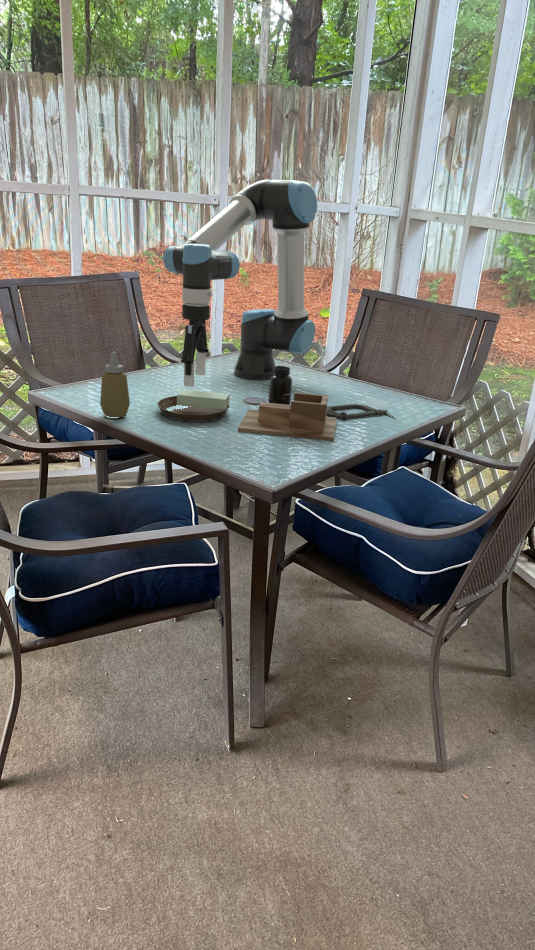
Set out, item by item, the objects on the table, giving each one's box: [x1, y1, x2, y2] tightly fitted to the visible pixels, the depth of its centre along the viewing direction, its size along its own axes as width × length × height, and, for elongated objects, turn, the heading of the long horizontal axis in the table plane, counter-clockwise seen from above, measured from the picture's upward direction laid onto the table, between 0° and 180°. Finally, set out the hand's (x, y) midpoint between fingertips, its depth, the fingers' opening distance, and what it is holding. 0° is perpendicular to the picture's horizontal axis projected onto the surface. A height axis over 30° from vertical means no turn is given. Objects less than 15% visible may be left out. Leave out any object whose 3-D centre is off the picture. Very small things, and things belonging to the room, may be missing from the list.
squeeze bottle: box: [99, 351, 131, 418], centre depth 182 cm, size 8×8×18 cm
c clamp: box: [326, 403, 397, 421], centre depth 201 cm, size 20×17×3 cm
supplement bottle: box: [267, 365, 293, 405], centre depth 203 cm, size 7×7×12 cm
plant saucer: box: [157, 395, 230, 423], centre depth 192 cm, size 21×21×3 cm
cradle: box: [237, 391, 337, 442], centre depth 185 cm, size 18×26×8 cm
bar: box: [176, 389, 230, 410], centre depth 190 cm, size 6×14×3 cm, turn 81°
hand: (194, 380), depth 189 cm, fingers open, 13 cm apart
